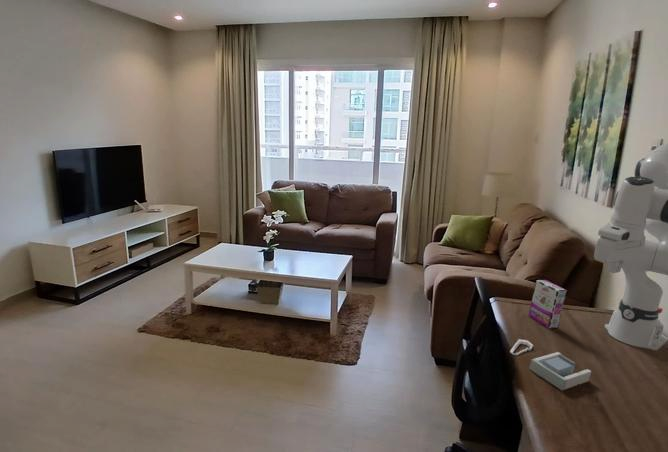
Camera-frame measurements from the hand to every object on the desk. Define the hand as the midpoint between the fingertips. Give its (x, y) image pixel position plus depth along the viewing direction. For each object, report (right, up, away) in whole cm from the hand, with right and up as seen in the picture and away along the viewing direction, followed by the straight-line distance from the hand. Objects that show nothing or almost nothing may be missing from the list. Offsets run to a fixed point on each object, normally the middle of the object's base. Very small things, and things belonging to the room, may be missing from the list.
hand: (614, 272), depth 127 cm
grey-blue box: (-18, -33, +1) cm, 38 cm away
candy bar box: (-3, -25, +38) cm, 45 cm away
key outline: (-22, -30, +16) cm, 40 cm away
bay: (-16, -33, +2) cm, 37 cm away
